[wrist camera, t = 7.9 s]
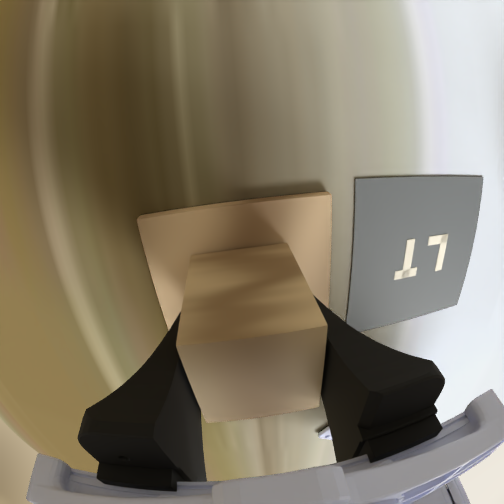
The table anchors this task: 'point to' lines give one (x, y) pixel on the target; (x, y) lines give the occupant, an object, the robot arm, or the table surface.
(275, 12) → the table surface
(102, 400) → the robot arm
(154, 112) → the table surface
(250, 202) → the cork coaster
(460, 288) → the grey lettered plate
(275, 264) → the oak block
